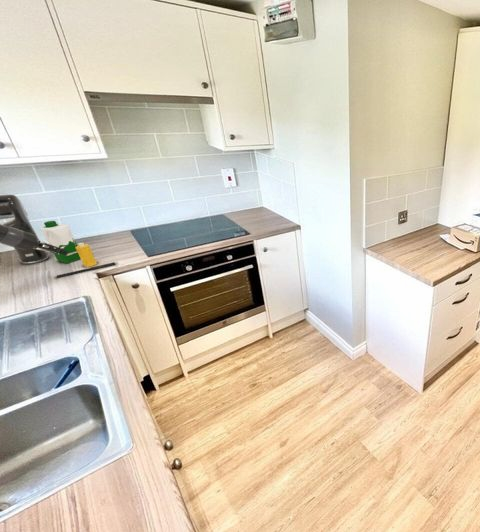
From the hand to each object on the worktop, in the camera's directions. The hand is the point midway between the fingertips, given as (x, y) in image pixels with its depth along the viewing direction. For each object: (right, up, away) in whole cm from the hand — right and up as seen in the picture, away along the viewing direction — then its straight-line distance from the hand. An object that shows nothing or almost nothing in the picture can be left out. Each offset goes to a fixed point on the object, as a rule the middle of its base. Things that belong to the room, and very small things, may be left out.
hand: (60, 252), depth 148 cm
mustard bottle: (+2, -6, +12) cm, 13 cm away
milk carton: (-12, -3, +16) cm, 20 cm away
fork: (+6, -9, +6) cm, 12 cm away
